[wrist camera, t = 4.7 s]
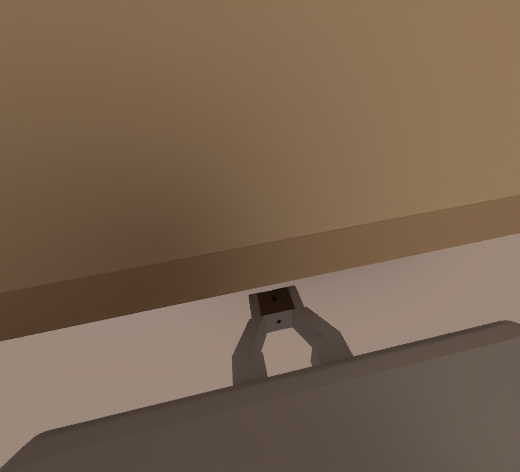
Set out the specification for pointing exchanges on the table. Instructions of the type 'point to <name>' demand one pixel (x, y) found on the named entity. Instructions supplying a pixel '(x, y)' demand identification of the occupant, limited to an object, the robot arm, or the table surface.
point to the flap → (243, 145)
